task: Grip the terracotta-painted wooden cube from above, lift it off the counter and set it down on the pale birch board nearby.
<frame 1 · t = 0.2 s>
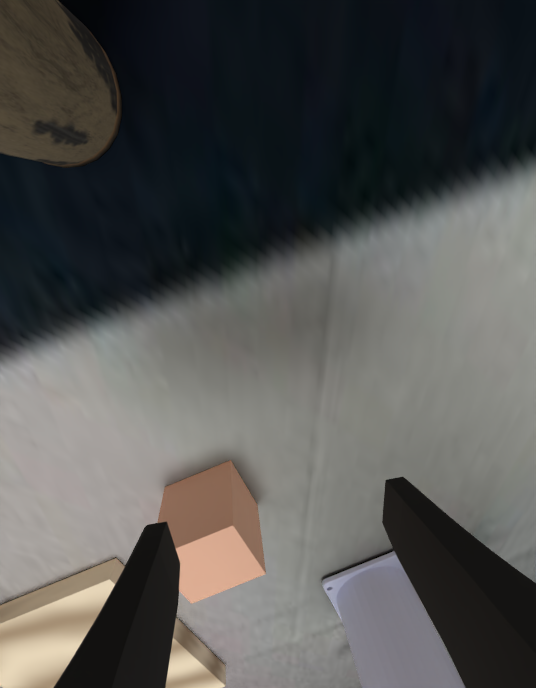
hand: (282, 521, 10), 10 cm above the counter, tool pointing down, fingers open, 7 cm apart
mug: (73, 79, 13), on the counter
birch board: (107, 648, 28), on the counter
terracotta cube: (213, 495, 22), on the counter
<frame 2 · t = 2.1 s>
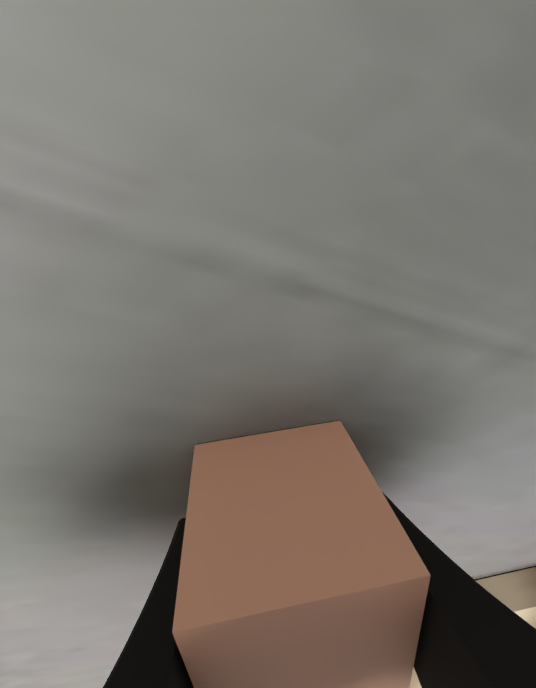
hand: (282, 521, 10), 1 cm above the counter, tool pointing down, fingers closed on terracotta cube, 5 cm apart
birch board: (490, 642, 19), on the counter
terracotta cube: (275, 486, 11), on the counter, touching gripper
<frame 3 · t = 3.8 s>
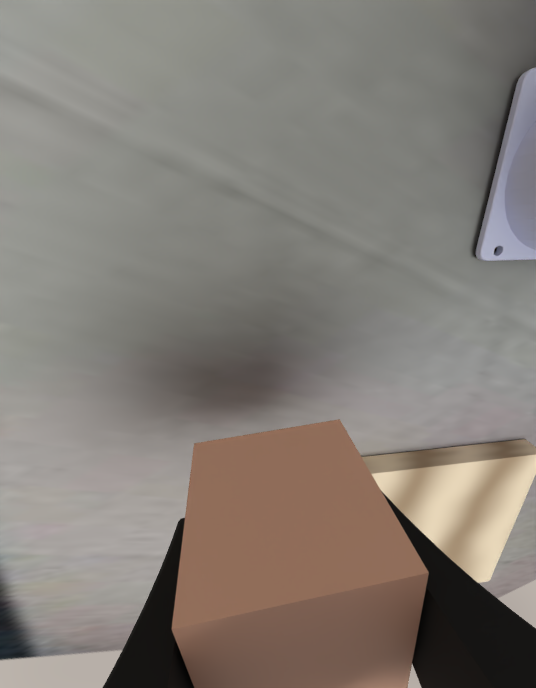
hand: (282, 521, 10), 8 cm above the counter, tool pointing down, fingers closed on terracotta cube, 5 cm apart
birch board: (383, 523, 24), on the counter
terracotta cube: (274, 485, 11), point 7 cm above the counter, touching gripper
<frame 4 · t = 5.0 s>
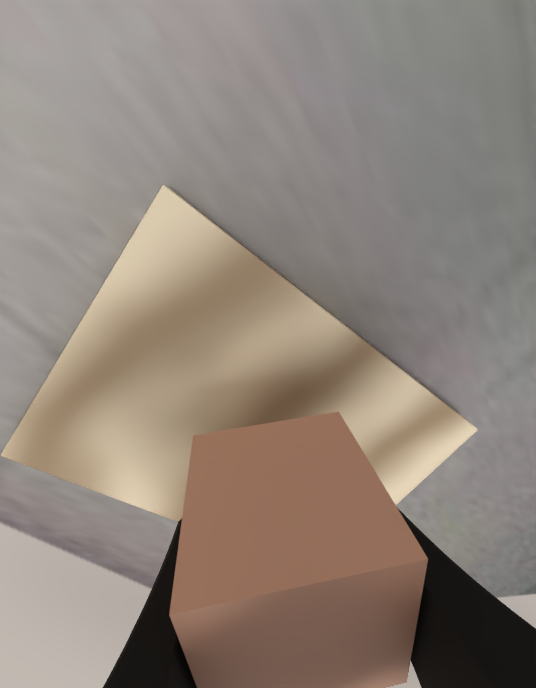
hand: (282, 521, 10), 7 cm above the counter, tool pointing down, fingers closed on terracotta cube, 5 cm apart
birch board: (262, 423, 17), on the counter
terracotta cube: (273, 478, 11), point 6 cm above the counter, touching gripper
when the fingers open (4 cm above the counter, at t = 6.0 s): terracotta cube stays where it is, resting on birch board.
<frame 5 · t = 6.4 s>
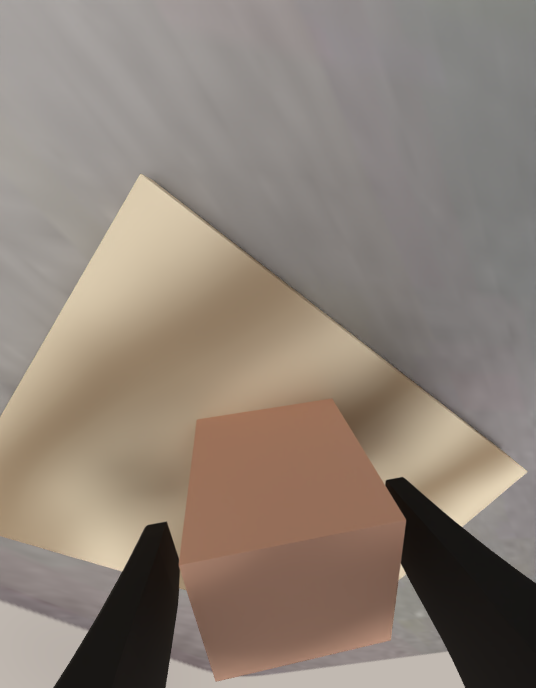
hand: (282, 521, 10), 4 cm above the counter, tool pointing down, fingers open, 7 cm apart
birch board: (270, 465, 14), on the counter
terracotta cube: (271, 461, 12), point 1 cm above the counter, touching birch board
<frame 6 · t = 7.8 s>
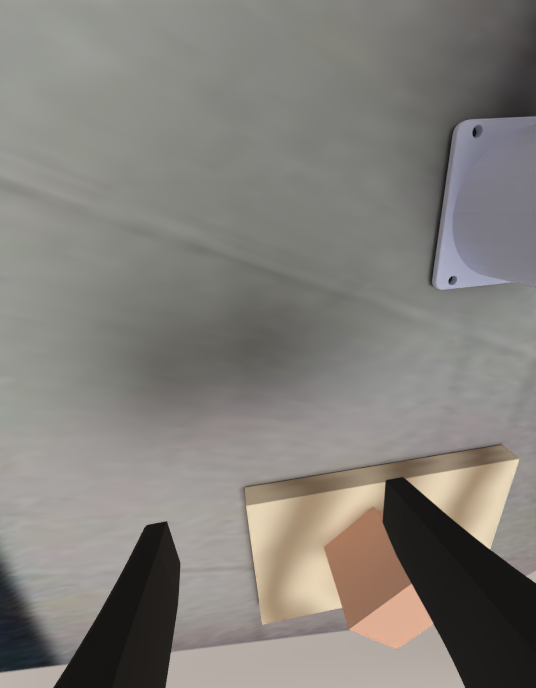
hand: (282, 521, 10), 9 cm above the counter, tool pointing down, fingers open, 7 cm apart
birch board: (373, 529, 25), on the counter
terracotta cube: (368, 539, 23), point 1 cm above the counter, touching birch board
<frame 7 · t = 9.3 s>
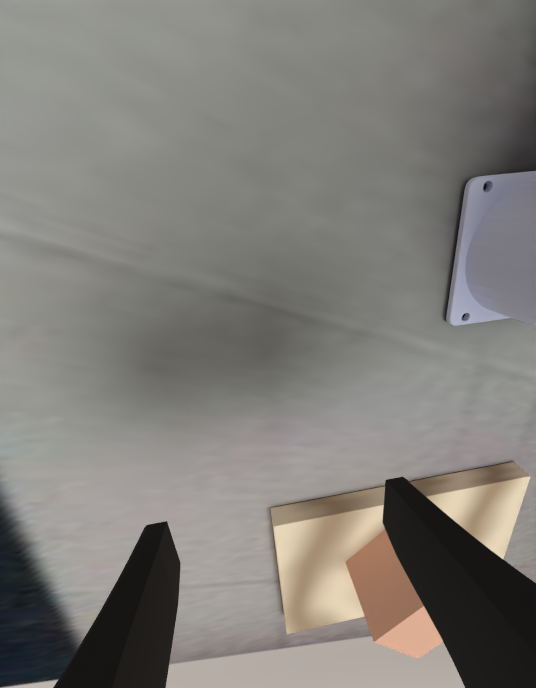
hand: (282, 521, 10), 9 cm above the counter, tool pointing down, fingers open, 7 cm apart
birch board: (390, 543, 27), on the counter
terracotta cube: (387, 554, 25), point 1 cm above the counter, touching birch board
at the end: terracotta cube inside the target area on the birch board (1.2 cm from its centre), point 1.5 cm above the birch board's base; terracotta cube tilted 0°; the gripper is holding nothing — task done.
